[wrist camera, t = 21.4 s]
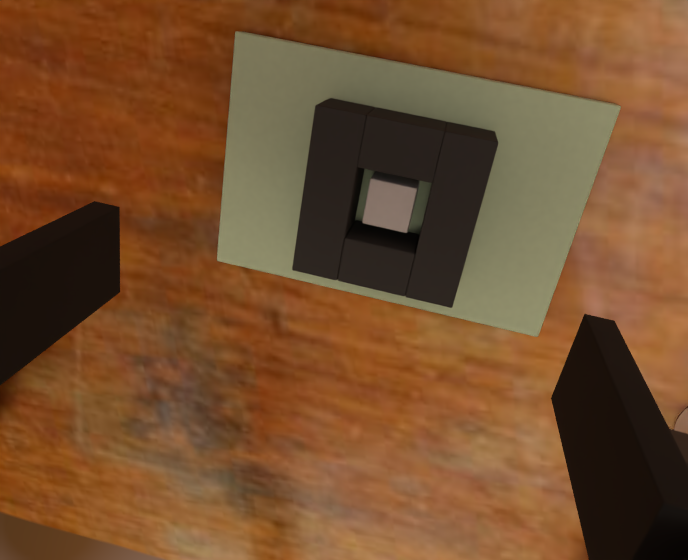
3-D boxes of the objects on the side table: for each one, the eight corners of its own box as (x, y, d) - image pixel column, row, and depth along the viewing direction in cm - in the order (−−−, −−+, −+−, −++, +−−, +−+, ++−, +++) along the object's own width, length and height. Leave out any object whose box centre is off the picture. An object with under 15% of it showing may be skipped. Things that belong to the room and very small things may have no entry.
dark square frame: (329, 97, 28) (315, 104, 25) (495, 130, 27) (499, 142, 24) (306, 249, 31) (291, 270, 28) (453, 283, 30) (452, 308, 27)
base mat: (242, 31, 28) (214, 31, 25) (616, 103, 26) (637, 113, 23) (223, 254, 33) (197, 278, 30) (535, 328, 31) (543, 362, 28)
